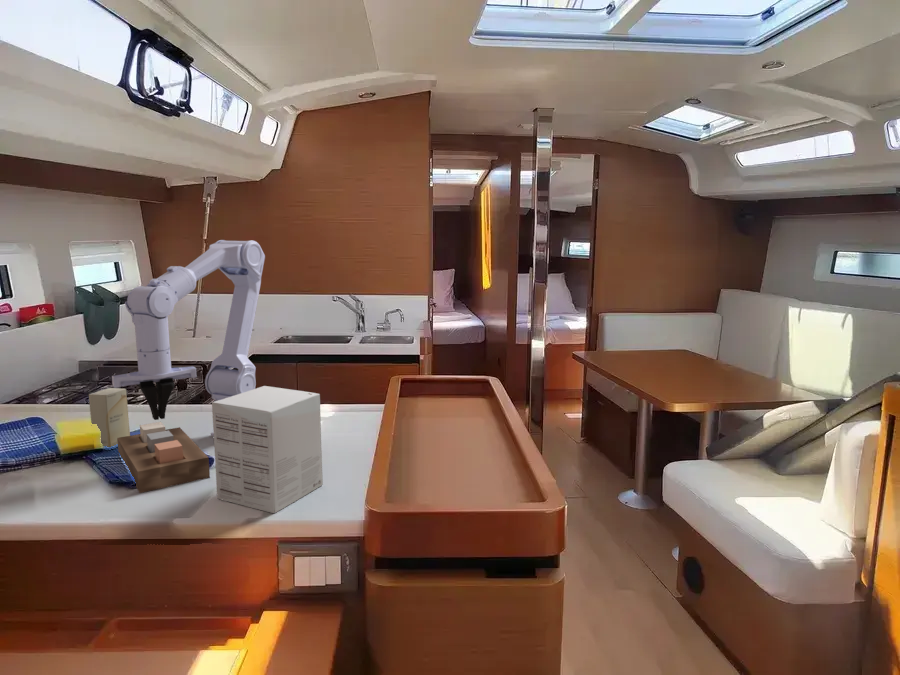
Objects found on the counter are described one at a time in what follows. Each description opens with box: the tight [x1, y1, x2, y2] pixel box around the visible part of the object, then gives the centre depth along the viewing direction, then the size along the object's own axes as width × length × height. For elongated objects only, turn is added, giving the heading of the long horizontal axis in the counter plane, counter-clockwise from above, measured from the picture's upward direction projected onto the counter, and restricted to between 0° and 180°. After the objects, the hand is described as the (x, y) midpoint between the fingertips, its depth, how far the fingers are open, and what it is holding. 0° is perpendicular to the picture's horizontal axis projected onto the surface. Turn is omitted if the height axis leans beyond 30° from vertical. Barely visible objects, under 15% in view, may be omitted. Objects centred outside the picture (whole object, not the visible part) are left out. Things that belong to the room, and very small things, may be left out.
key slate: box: [147, 430, 174, 453], centre depth 119 cm, size 4×4×4 cm
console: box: [117, 426, 211, 494], centre depth 120 cm, size 12×22×4 cm, turn 37°
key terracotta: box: [154, 440, 183, 464], centre depth 114 cm, size 4×4×4 cm
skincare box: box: [88, 387, 131, 447], centre depth 131 cm, size 6×4×12 cm
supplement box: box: [211, 385, 324, 514], centre depth 107 cm, size 13×13×18 cm
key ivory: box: [139, 421, 166, 443], centre depth 125 cm, size 4×4×4 cm
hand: (158, 418), depth 119 cm, fingers closed
